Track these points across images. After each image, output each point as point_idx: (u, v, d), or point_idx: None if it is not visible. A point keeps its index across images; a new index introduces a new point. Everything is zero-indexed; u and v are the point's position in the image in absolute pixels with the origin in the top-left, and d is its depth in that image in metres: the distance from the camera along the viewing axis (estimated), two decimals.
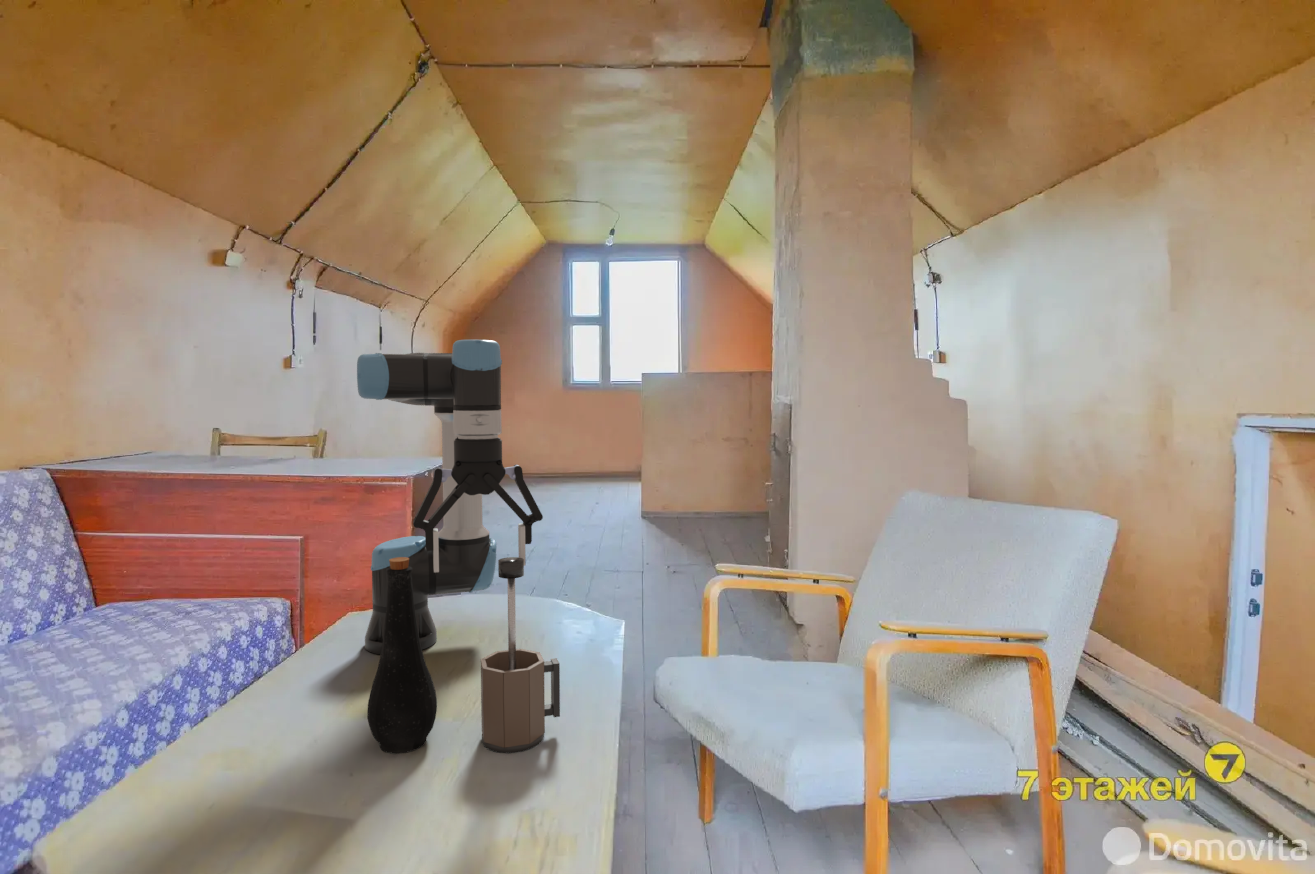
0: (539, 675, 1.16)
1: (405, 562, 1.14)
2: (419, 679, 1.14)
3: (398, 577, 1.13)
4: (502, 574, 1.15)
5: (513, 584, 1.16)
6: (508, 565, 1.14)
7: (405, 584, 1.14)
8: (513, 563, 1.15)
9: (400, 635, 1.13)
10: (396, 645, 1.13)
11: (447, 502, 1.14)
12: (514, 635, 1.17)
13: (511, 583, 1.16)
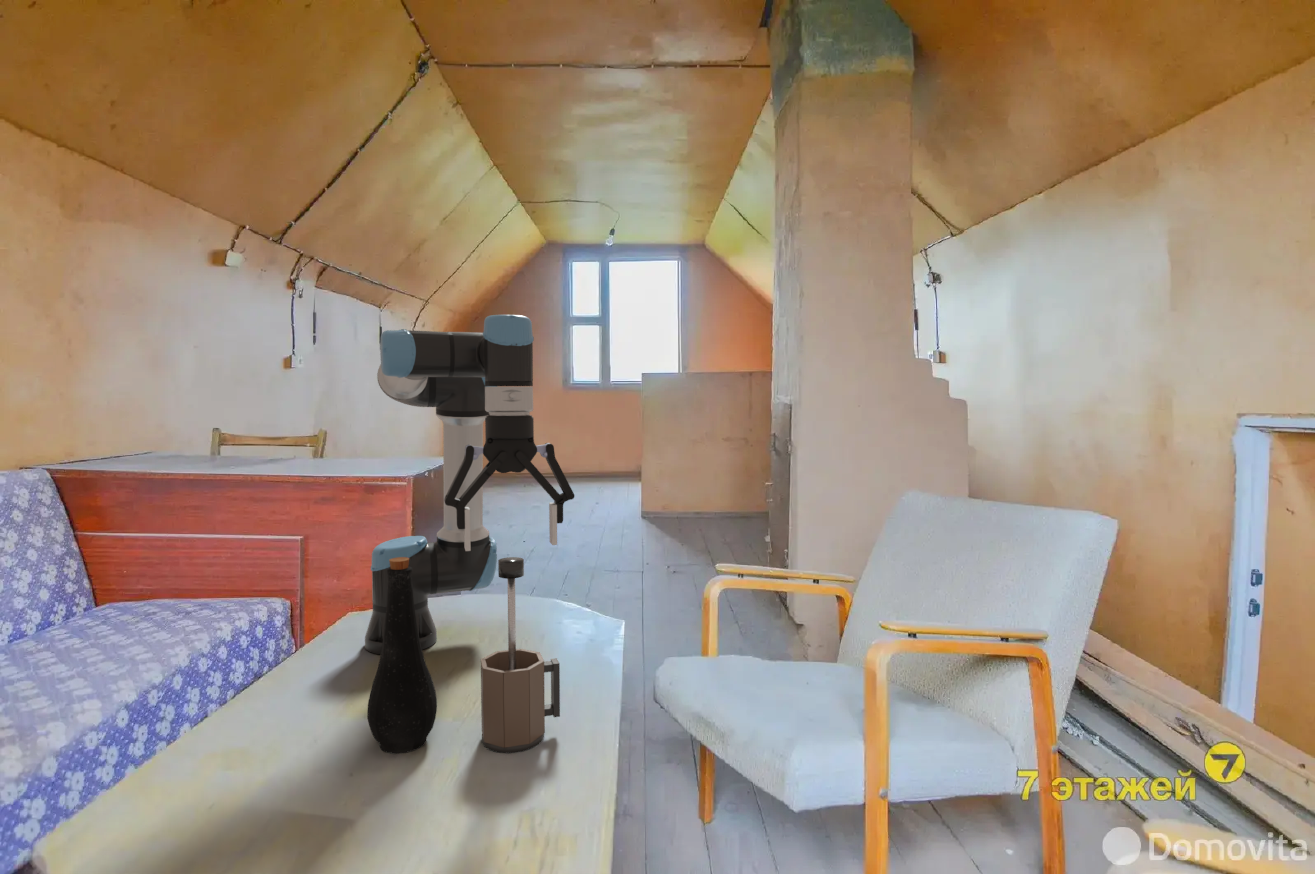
0: (539, 675, 1.16)
1: (405, 562, 1.14)
2: (419, 679, 1.14)
3: (398, 577, 1.13)
4: (502, 574, 1.15)
5: (513, 584, 1.16)
6: (508, 565, 1.14)
7: (405, 584, 1.14)
8: (513, 563, 1.15)
9: (401, 635, 1.13)
10: (396, 645, 1.13)
11: (479, 480, 1.13)
12: (514, 635, 1.17)
13: (511, 583, 1.16)
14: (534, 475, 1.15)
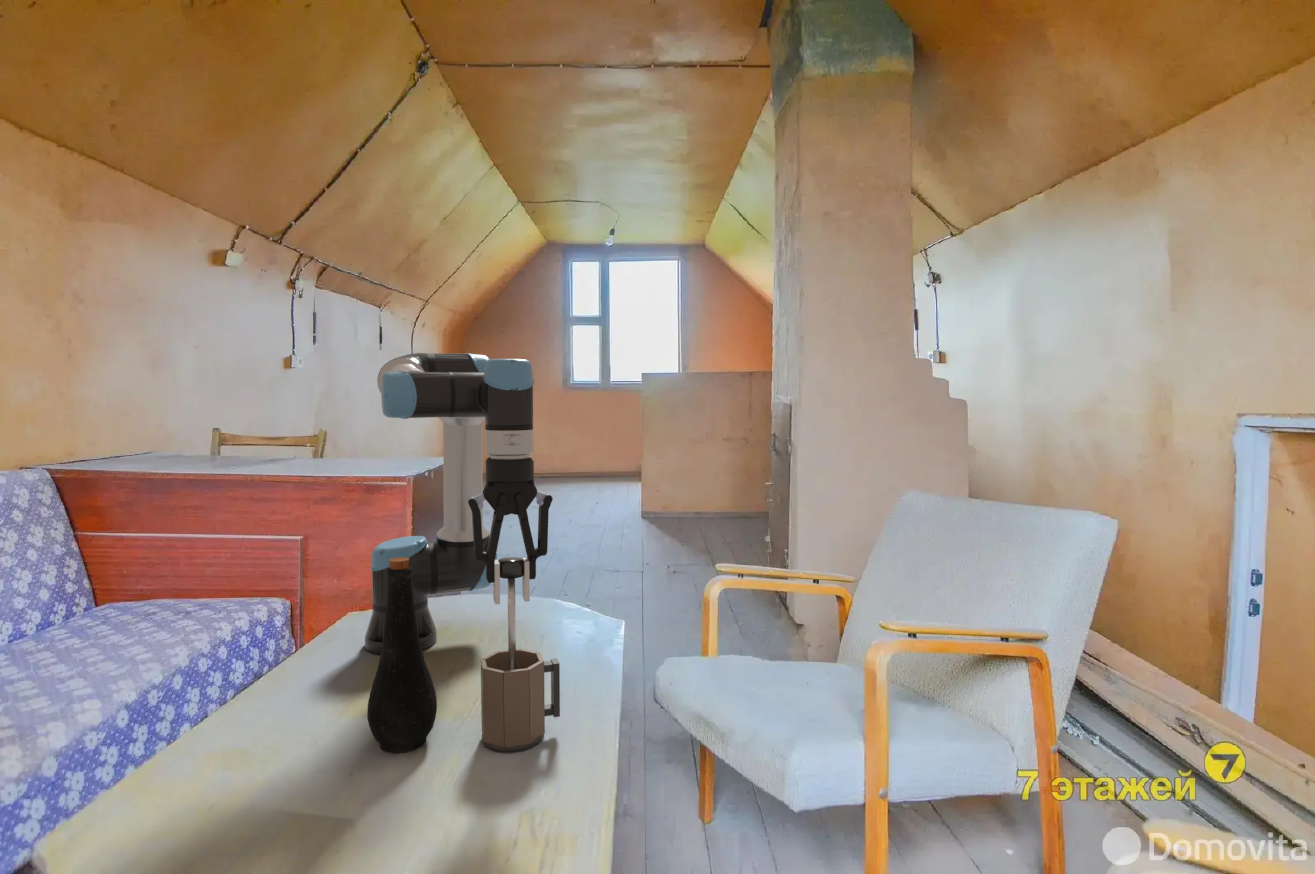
0: (539, 675, 1.16)
1: (405, 562, 1.14)
2: (419, 679, 1.14)
3: (398, 577, 1.13)
4: (502, 574, 1.15)
5: (513, 584, 1.16)
6: (508, 565, 1.14)
7: (405, 584, 1.14)
8: (513, 563, 1.15)
9: (400, 635, 1.13)
10: (396, 645, 1.13)
11: (494, 530, 1.14)
12: (514, 634, 1.17)
13: (511, 583, 1.16)
14: (522, 522, 1.15)
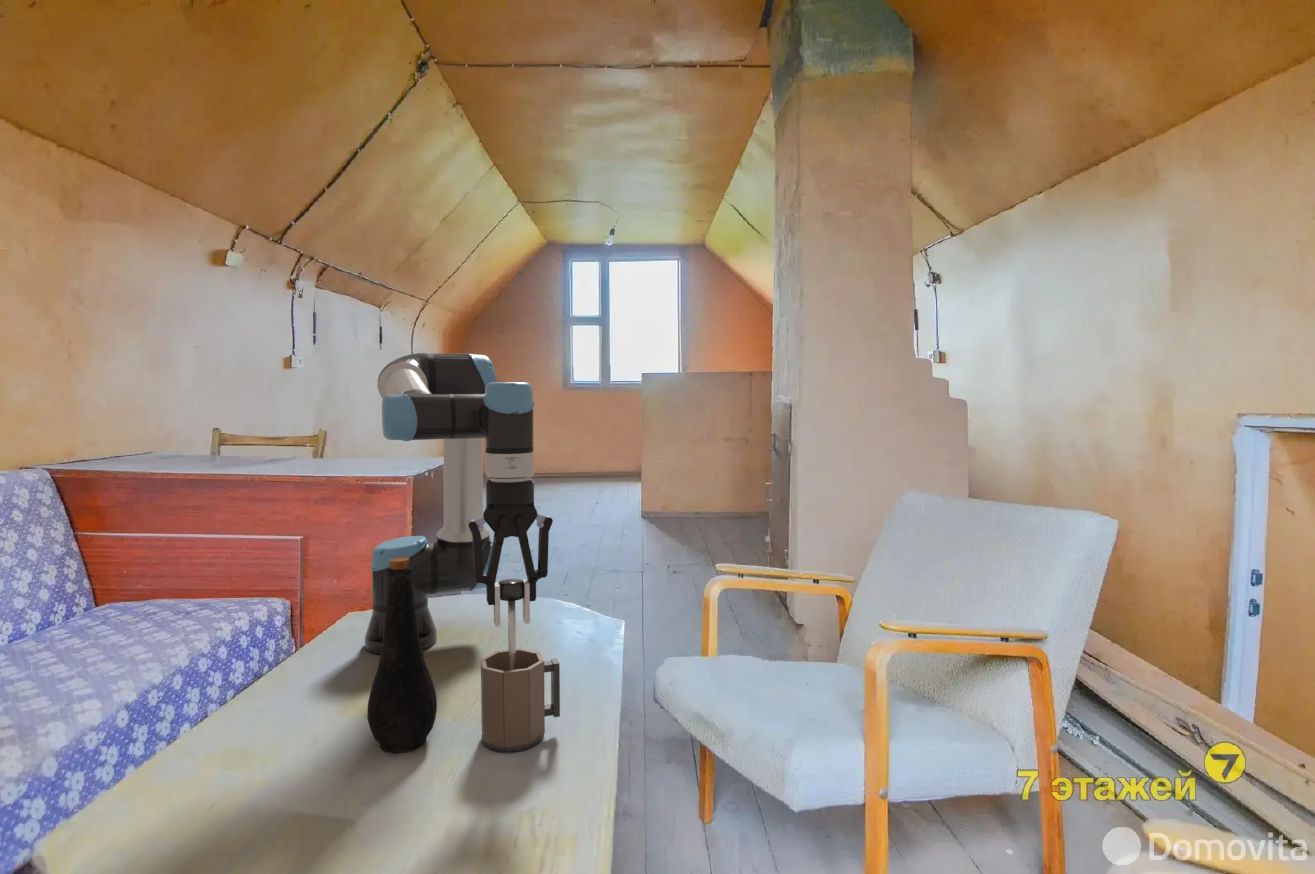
0: (539, 675, 1.16)
1: (405, 562, 1.14)
2: (419, 679, 1.14)
3: (398, 577, 1.13)
4: (502, 596, 1.15)
5: (513, 606, 1.16)
6: (508, 587, 1.15)
7: (405, 584, 1.14)
8: (513, 585, 1.15)
9: (400, 635, 1.13)
10: (396, 645, 1.13)
11: (494, 552, 1.14)
12: (515, 656, 1.17)
13: (511, 605, 1.16)
14: (522, 544, 1.16)
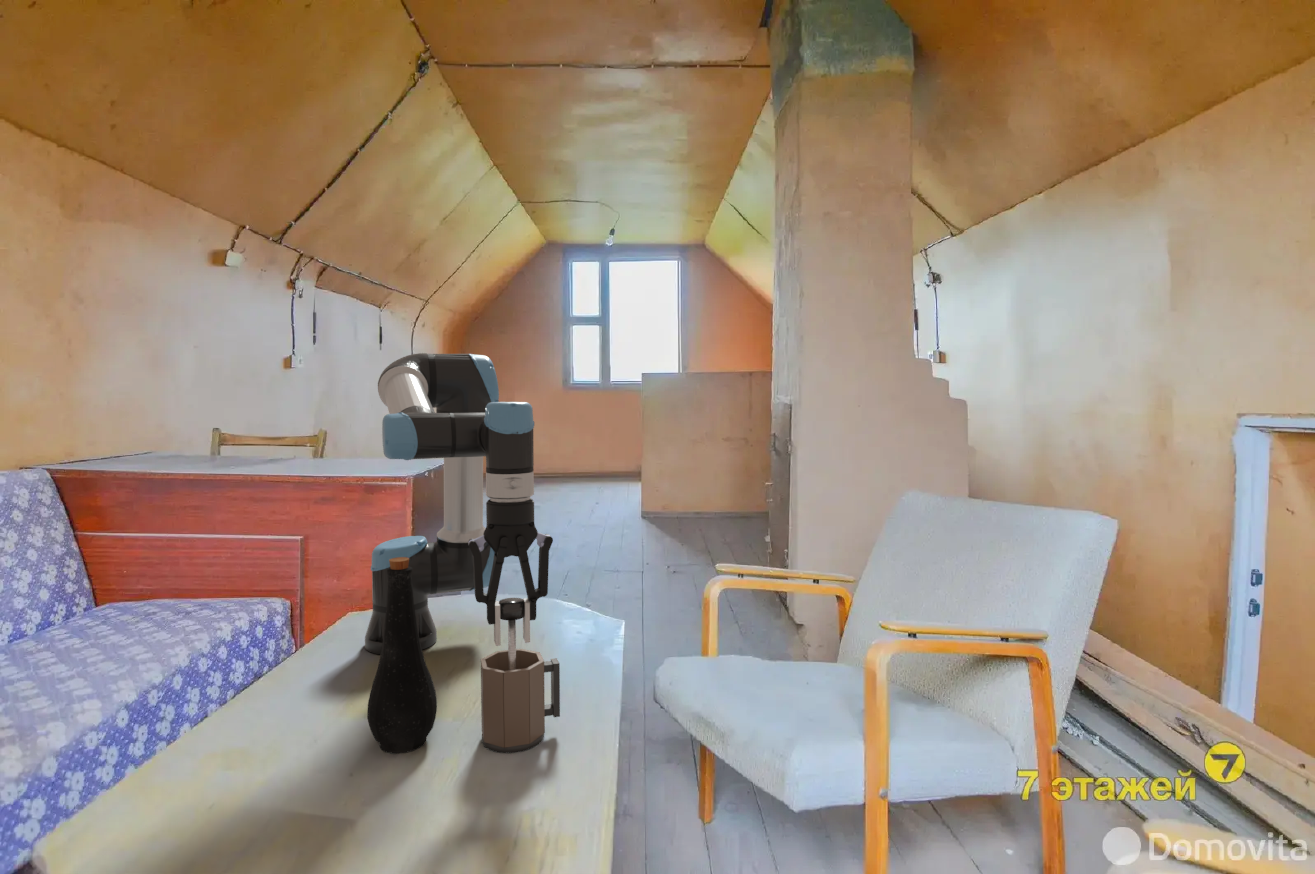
0: (539, 675, 1.16)
1: (405, 562, 1.14)
2: (419, 679, 1.14)
3: (398, 577, 1.13)
4: (503, 616, 1.15)
5: (513, 625, 1.17)
6: (508, 607, 1.15)
7: (405, 584, 1.14)
8: (514, 605, 1.15)
9: (400, 635, 1.13)
10: (396, 645, 1.13)
11: (495, 572, 1.15)
12: None
13: (512, 624, 1.17)
14: (522, 564, 1.16)
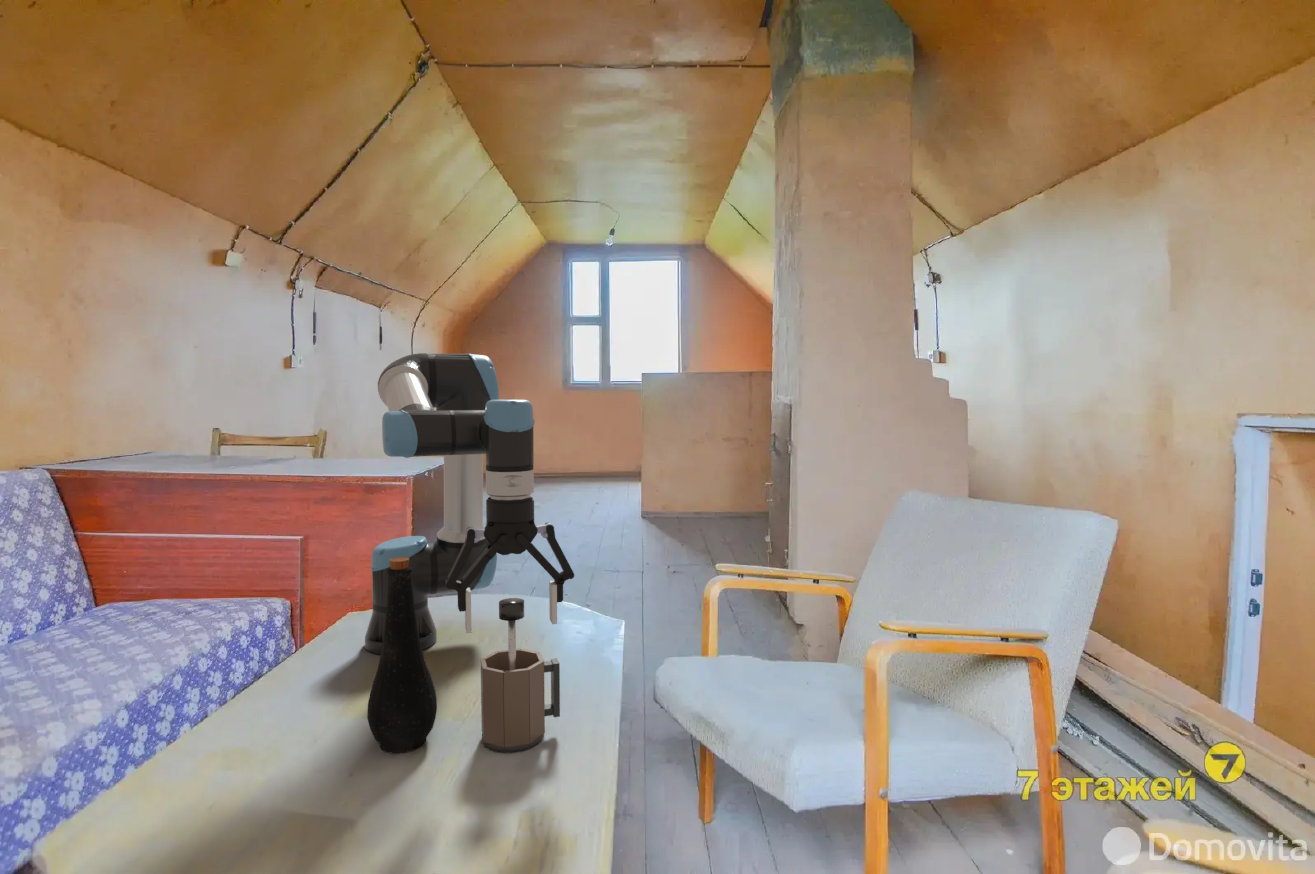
0: (539, 675, 1.16)
1: (405, 562, 1.14)
2: (419, 679, 1.14)
3: (398, 577, 1.13)
4: (503, 616, 1.15)
5: (513, 625, 1.17)
6: (508, 607, 1.15)
7: (405, 584, 1.14)
8: (514, 605, 1.15)
9: (401, 635, 1.13)
10: (396, 645, 1.13)
11: (480, 563, 1.14)
12: None
13: (512, 625, 1.17)
14: (534, 556, 1.16)
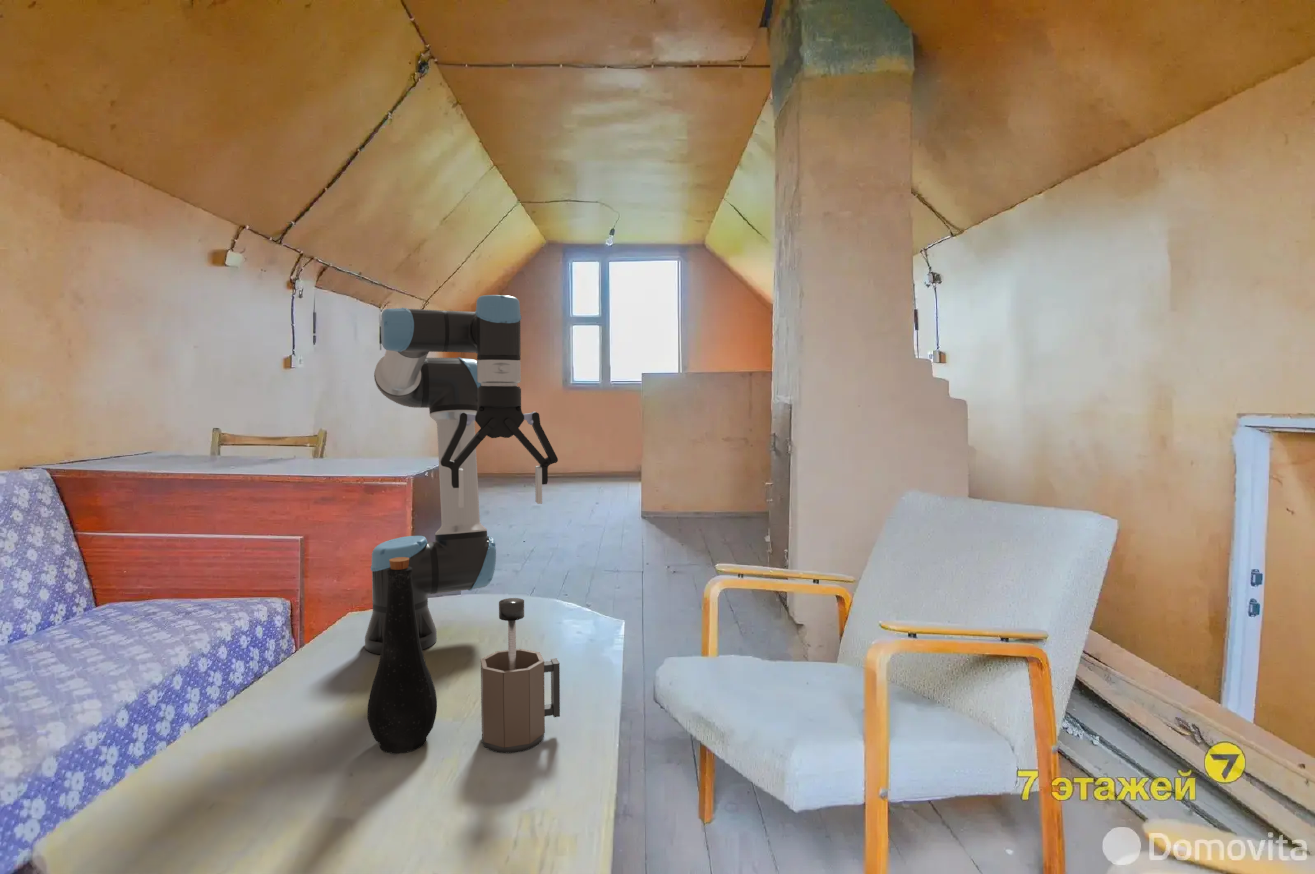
0: (539, 675, 1.16)
1: (405, 562, 1.14)
2: (419, 679, 1.14)
3: (398, 577, 1.13)
4: (503, 616, 1.15)
5: (513, 625, 1.17)
6: (508, 607, 1.15)
7: (405, 584, 1.14)
8: (514, 605, 1.15)
9: (401, 635, 1.13)
10: (396, 645, 1.13)
11: (471, 444, 1.25)
12: None
13: (512, 625, 1.17)
14: (521, 440, 1.28)
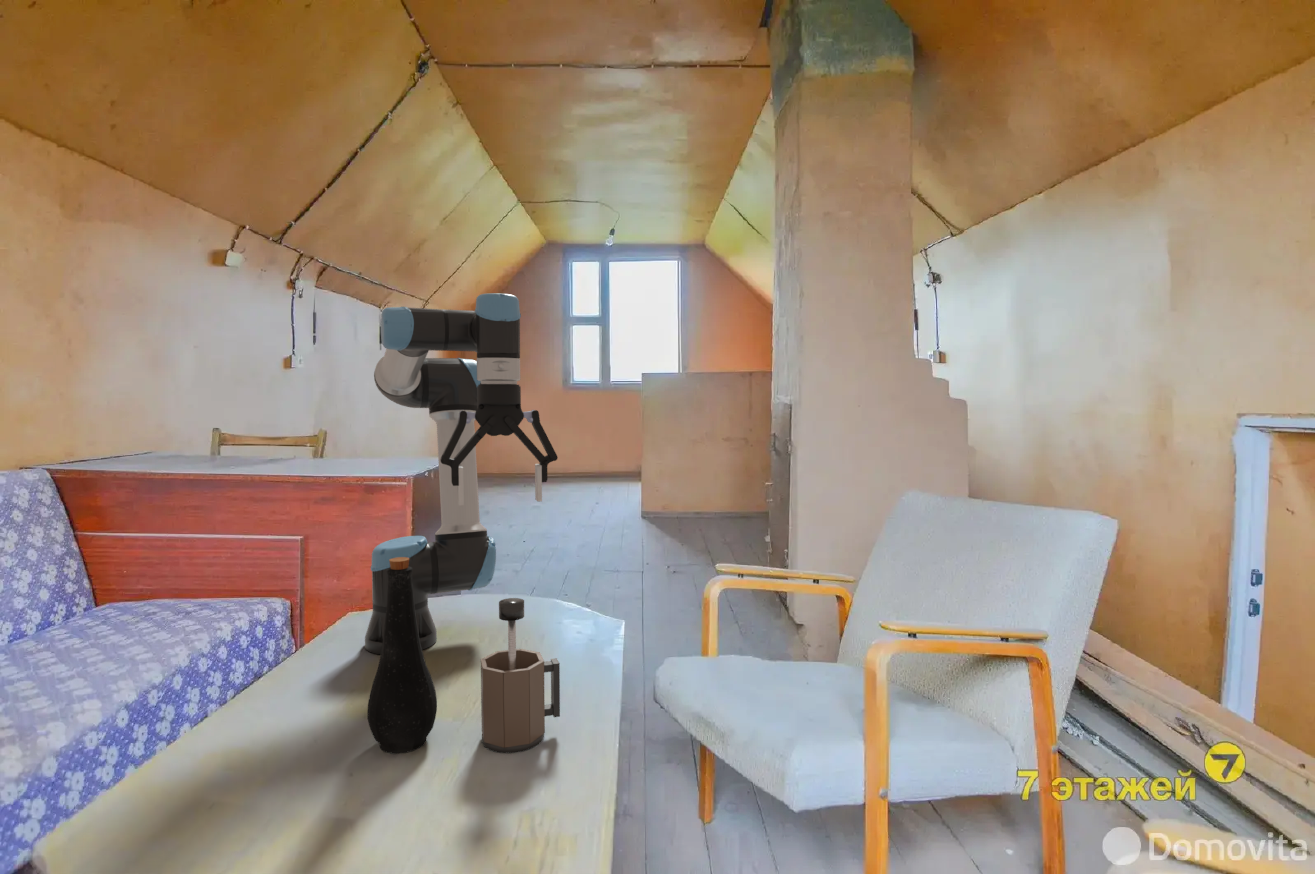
0: (539, 675, 1.16)
1: (405, 562, 1.14)
2: (419, 679, 1.14)
3: (398, 577, 1.13)
4: (503, 616, 1.15)
5: (513, 625, 1.17)
6: (508, 607, 1.15)
7: (405, 584, 1.14)
8: (514, 605, 1.15)
9: (401, 635, 1.13)
10: (396, 645, 1.13)
11: (471, 441, 1.26)
12: None
13: (512, 625, 1.17)
14: (521, 438, 1.28)
